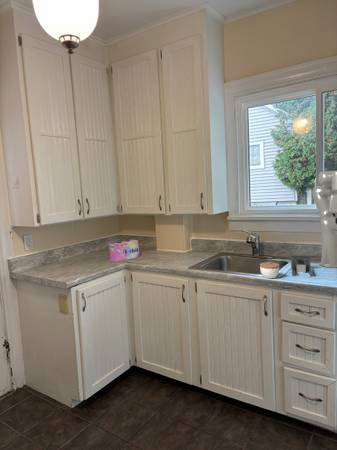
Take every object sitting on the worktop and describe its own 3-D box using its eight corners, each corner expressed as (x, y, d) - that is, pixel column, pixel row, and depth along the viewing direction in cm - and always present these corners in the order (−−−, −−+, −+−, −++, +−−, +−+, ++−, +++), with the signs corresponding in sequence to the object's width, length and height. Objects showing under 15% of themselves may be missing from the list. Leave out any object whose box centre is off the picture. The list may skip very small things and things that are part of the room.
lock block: (296, 269, 207) (296, 261, 206) (305, 270, 205) (305, 261, 205) (296, 272, 201) (296, 264, 200) (305, 273, 199) (305, 264, 198)
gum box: (135, 255, 271) (134, 238, 269) (141, 256, 265) (140, 239, 263) (109, 260, 255) (108, 243, 254) (115, 262, 249) (114, 244, 248)
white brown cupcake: (275, 274, 198) (275, 259, 197) (282, 279, 188) (282, 263, 187) (257, 275, 198) (257, 260, 197) (263, 280, 187) (263, 264, 186)
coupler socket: (291, 268, 210) (291, 254, 209) (310, 269, 207) (310, 254, 206) (292, 276, 194) (292, 260, 193) (312, 276, 190) (312, 261, 189)
